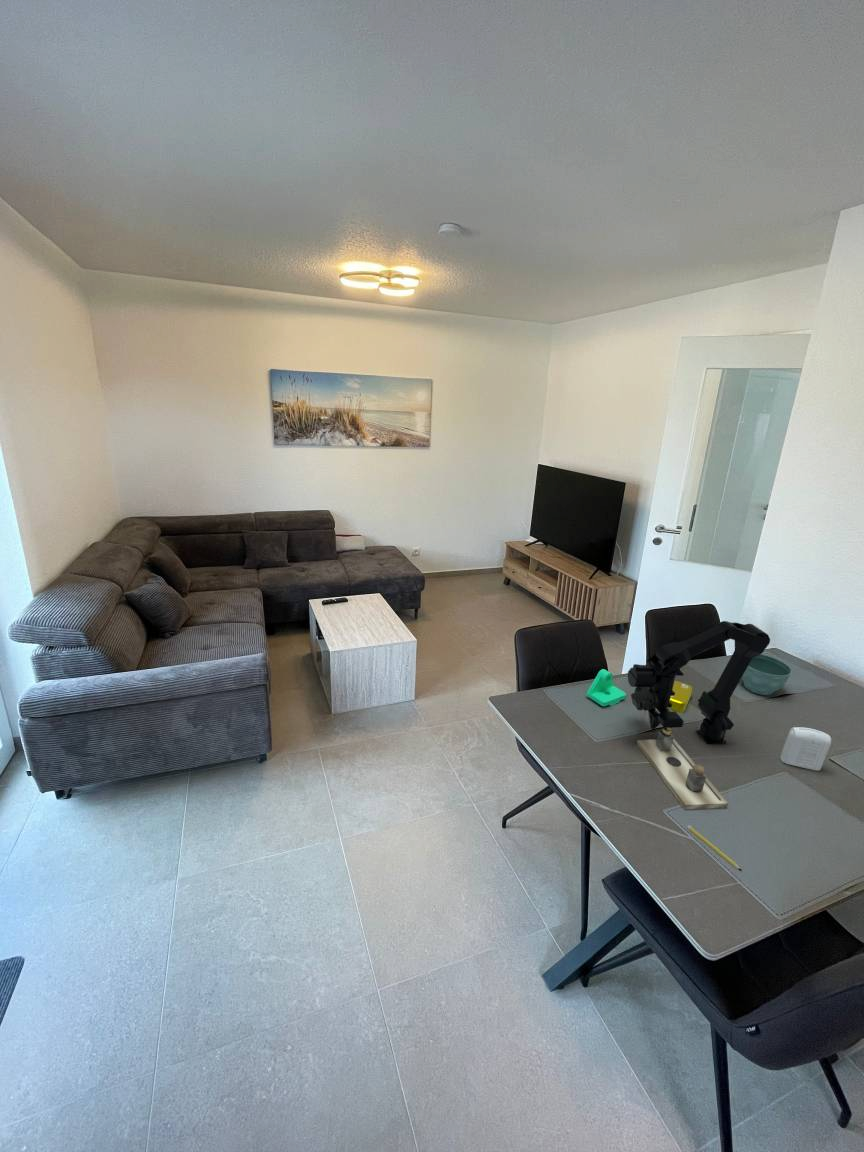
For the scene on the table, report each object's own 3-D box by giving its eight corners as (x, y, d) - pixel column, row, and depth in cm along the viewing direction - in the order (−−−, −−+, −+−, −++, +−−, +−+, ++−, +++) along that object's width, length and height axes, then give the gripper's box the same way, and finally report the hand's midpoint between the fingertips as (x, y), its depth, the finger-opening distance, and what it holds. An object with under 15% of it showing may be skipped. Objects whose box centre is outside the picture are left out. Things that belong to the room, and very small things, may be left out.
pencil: (740, 873, 114) (741, 870, 114) (686, 828, 126) (686, 825, 125) (743, 872, 115) (744, 868, 114) (688, 827, 126) (689, 824, 126)
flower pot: (793, 702, 181) (802, 676, 178) (749, 700, 181) (757, 674, 178) (766, 678, 197) (773, 654, 193) (725, 676, 197) (732, 652, 193)
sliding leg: (665, 743, 153) (669, 726, 151) (670, 750, 150) (675, 732, 148) (655, 744, 153) (660, 726, 151) (661, 750, 150) (665, 732, 148)
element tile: (638, 699, 180) (640, 687, 178) (648, 681, 191) (650, 670, 189) (683, 715, 172) (686, 703, 170) (691, 696, 183) (694, 684, 181)
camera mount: (602, 709, 172) (607, 683, 169) (586, 698, 178) (590, 673, 175) (626, 700, 178) (631, 675, 175) (609, 689, 184) (613, 665, 181)
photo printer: (816, 763, 150) (829, 729, 146) (822, 773, 147) (836, 738, 142) (777, 755, 153) (789, 721, 149) (782, 764, 149) (794, 730, 145)
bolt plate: (673, 742, 157) (678, 721, 154) (726, 807, 132) (734, 783, 129) (636, 744, 155) (641, 722, 152) (684, 809, 131) (691, 785, 128)
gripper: (623, 670, 160) (615, 711, 165) (653, 704, 143) (642, 748, 148) (656, 669, 161) (647, 710, 167) (689, 703, 144) (678, 747, 149)
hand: (652, 728), depth 158 cm, fingers closed
